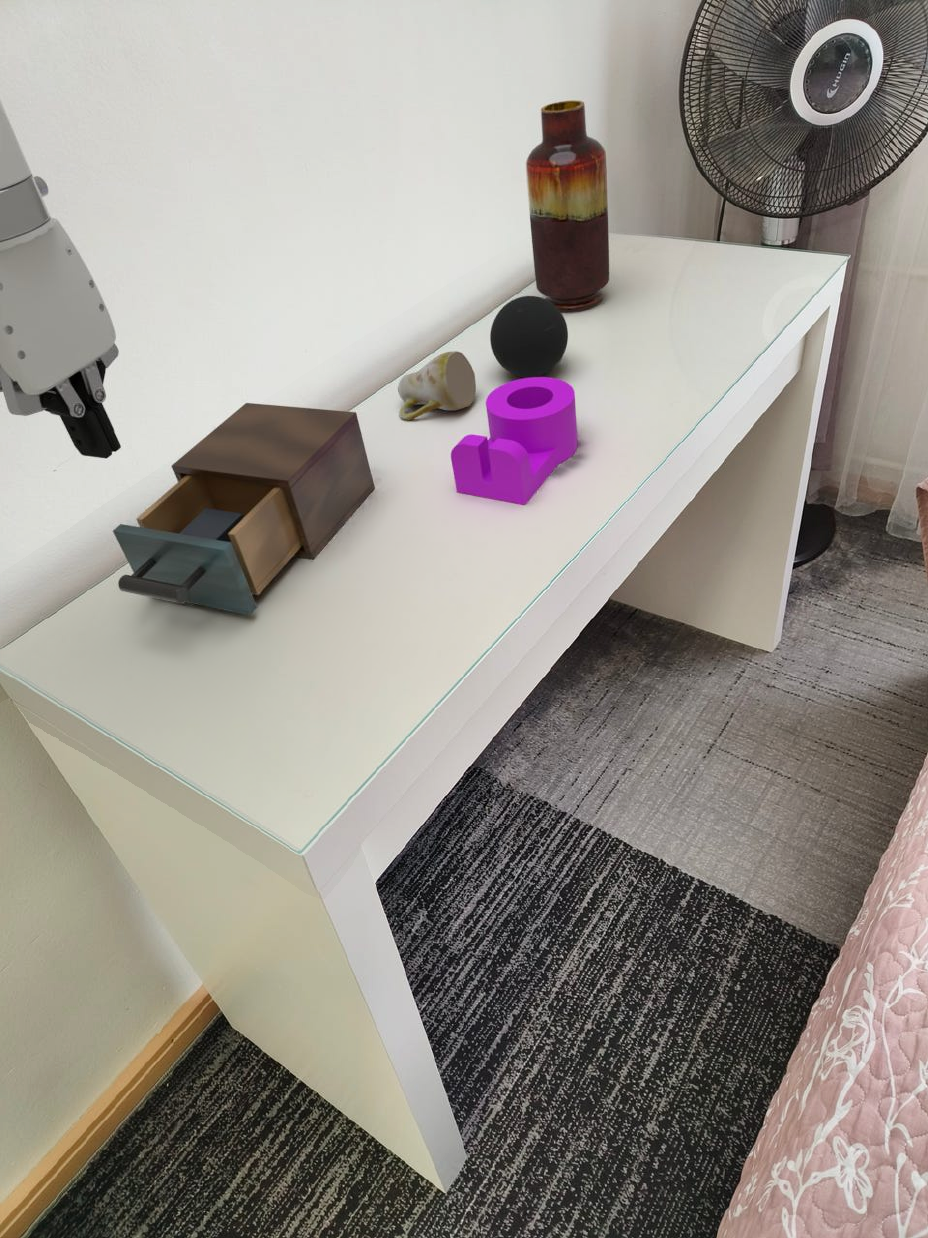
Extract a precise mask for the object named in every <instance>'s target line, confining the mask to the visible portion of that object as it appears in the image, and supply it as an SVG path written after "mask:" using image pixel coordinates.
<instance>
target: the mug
mask: <svg viewBox="0 0 928 1238" xmlns="http://www.w3.org/2000/svg"><path fill="white" fill-rule="evenodd" d="M476 382H477V381H476V374H475V372H474V369H473V367H472V365H471V363H470V361H469V359H468V358H467V357H466V356H465V354H463V353H462V352H460V351H457V350H455V351H446V352H443V353H440V354H438V355H437V356H435V357H434V358H432V359H430V361H428V362H427V363H426V364H425V365H423V367H421V369H419V370H417V371H415V372H410V373H408V374H405V375H403V376H402V377H401V379H400V380H399V383H398V386H397V392H398V395H399V397H400V399H401V400H402V401H403V403H404V404H403V405H402V406H400V408H399V411H398V413H399V418H401V419H402V420H409V421H412V420H415V419H417V418H418V417H421V416H423V415H425V414H426V413H428V412H431V411H433V410H435V409H439V410H443V411H459V410H462V409H464V408H467V407H470V406H471V405H472V404H473V402H474V400H475V396H476V392H477V391H476V390H477V384H476ZM418 405H423V406H422V407H420V408H418V409H417V410H415V411H414V412H411V413H407V410H408V409H409V407H411V406H418Z"/></svg>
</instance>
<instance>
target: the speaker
mask: <svg viewBox="0 0 928 1238" xmlns="http://www.w3.org/2000/svg"><path fill="white" fill-rule="evenodd" d="M562 313H563V312H560V310H559V309H558V308H557V307H556V306H555V305H554V304H553V303H551V302H550V301H548V300H546V299H545V297H544V298H543V297H541V296H537V295H523V296H519V297H516V298H514V299H512V300H510V301H508V302H507V303H506V304H505V305H504V306H502V307H501V309H500V310H499V311H498V312H497V314H496V315H495V317H494V319H493V321H492V324H491V328H490V335H489V336H490V337H489V339H490V340H489V341H490V348H491V350H492V354H493V356H494V358H495V359H496V361H497V362H498V364H499V365H500V366H501V368H502V369H504V370H505V371H506V372H508V373H510V374H511V375H514V376H517V377H520V378H530V377H541V376H543V375H545V374H547V373H549V372H550V371H551V370H552V369H554V368H555V367H556V366H557V365H558V364H559V363H560V362H561V360H562V359H563V357H564V354H565V352H566V350H567V346H568V342H569V341H568V340H569V330H568V325H567V322H566V319H565V317H564V315H563V314H562Z"/></svg>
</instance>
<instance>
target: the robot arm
mask: <svg viewBox="0 0 928 1238" xmlns="http://www.w3.org/2000/svg"><path fill="white" fill-rule="evenodd" d="M48 194H49V186H48V185H47V183H46V180H44V178H42V177H41V176H38V175H36V176H34V175H33V173H32V170H31V168H30V166H29V163H28V162H27V159H26V157H25V154H24V152H23V150H22V148H21V144H20V142H19V140H18V139H17V136H16V133H15V131H14V128H13V126H12V124H11V122H10V119H9V117H8V115H7V113H6V110H5V108H4V106H3V103H2V101H1V100H0V393H3V397H4V400H5V404H6V406H7V410H8V412H9V413H10V414H11V415H14V416H23V417H28V416H31V415H34V414H39V413H41V412H44V411H45V412H48V413H49V414H50V415H52V416H53V415H54V416H58V417H60V420H61V421H62V424H63V425H64V428H65V430H66V432H67V434H68V436H69V438H70V439H71V442H72V444H73V446H74V447H75V449H76V450H77V451H78V452H79V454H80V455H81V456H84V457H92V458H98V459H108V458H110V457H111V456H112V455H113V452H114V453H116V452H118V451H119V450H120V449H121V448H122V446H121V443H120V440H119V439H118V437H117V434H116V432H115V428H114V426H113V423H112V422H111V419H110V417H109V415H108V413H107V411H106V408H105V407H104V402H105V401H106V399H107V394H106V391H105V390H106V389H105V387H104V382H105V376H106V371H107V369H108V368H109V367H110V366H111V365H112V363H113V362H114V361H115V360H116V359H117V358H118V356H119V348H118V346H117V344H116V343H115V342H116V339H117V334H116V330H115V326H114V323H113V320H112V318H111V315H110V312H109V309H108V307H107V304H105V300H104V299H103V296H102V294H101V292H100V290H99V288H98V286H97V284H96V282H95V280H94V278H93V276H92V274H91V272H90V270H89V268H88V267H87V264H86V262H85V261H84V259H83V257H82V255H81V254H80V252H79V250H78V249H77V247H76V245H75V244H74V242H73V240H72V239H71V237H70V236H69V234H68V232H67V231H66V229H65V228H64V227H63V225H62V223H61V222H60V221H59V219H57V218H55V217H52V216H51V214H50V211H49V209H48V207H47V205H46V203H45V200H44V197H46V196H48Z"/></svg>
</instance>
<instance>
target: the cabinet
mask: <svg viewBox="0 0 928 1238" xmlns="http://www.w3.org/2000/svg"><path fill="white" fill-rule="evenodd" d="M171 469H172V471H173V473H174V476H175V479H176V481H177V483H178V482H179V481H180V480H181V479H182V478H184V477H185V476H186V475H187V474H192V475H199V476H207V477H215V478H222V479H230V480H238V481H245V482H253V483H261V484H268V485H276V486H284V489H285V492H286V495H287V498H288V501H289V504H290V507H291V510H292V513H293V516H294V519H295V522H296V525H297V529H298V532H299V535H300V538H301V541H302V544H303V546H302V547H301V548H300V549H299V550H298V551H297V552H296V553H295V555H294V556H293V557H296V558H303V559H309V560H314V559H316V557H317V556H318V554H320V553H321V552H322V550H323V549H324V548H325V547H326V546H327V545H328V544H329V542H330V541H331V540H332V539H333V538H334V536H335V535H336V534H337V533H338V532H339V531H340V529H341V528H342V527H343V526H344V525H345V524H346V522H347V521H348V520H349V519H350V518H351V517H352V515H354V513H355V512H356V511H357V510H358V509H359V508H360V506H361V505H362V504H363V503H364V501H365V500H366V499H367V498H368V497H369V496H370V495H371V494H372V492H373V491H374V490H375V489H376V487H375V483H374V479H373V474H372V471H371V467H370V462H369V458H368V455H367V451H366V446H365V443H364V438H363V435H362V430H361V426H360V422H359V419H358V414H357V412H356V411H346V410H335V409H322V408H311V407H300V406H287V405H275V404H265V403H264V404H263V403H253V402H246V403H243V405H242V406H240V408H238V409H236V411H234V412H233V413H232V414H231V415H230V416H229V417H227V418H226V419H225V420H224V421H222V423H220V424H219V425H217V427H215V428H214V429H213V430H212V431H210V433H208V434H207V435H206V436H205V437H204V438H202V439H201V440H200V441H199V442H197V444H196V445H194V446H193V447H192V448H190V449H189V450H188V451H187V452H186V453H185V454H183V455H182V456H181V457H180V458H179V459H177V460H176V461H175V462H174V463H173V464H172V465H171Z"/></svg>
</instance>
